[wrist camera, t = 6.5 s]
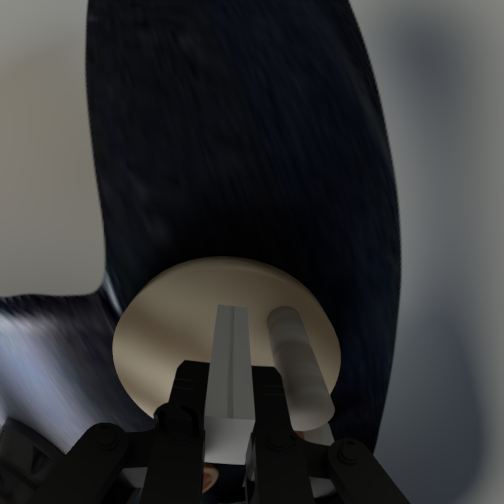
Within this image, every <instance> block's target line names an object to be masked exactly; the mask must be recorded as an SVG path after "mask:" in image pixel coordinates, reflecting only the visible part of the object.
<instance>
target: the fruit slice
mask: <svg viewBox="0 0 504 504" xmlns="http://www.w3.org/2000/svg"><path fill="white" fill-rule="evenodd" d="M218 475H219V472H218V471H217V469H216V468H215V467H214V466H213V465H212V464H211V463H209V462H204V481H203V493H204V492H205V491H207V490H208V489H209V488H211V487H212V486H213V485H214V484H215V482H216V480H217V479H218Z"/></svg>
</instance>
